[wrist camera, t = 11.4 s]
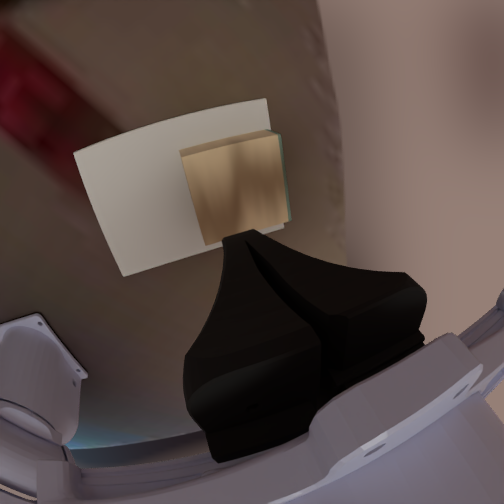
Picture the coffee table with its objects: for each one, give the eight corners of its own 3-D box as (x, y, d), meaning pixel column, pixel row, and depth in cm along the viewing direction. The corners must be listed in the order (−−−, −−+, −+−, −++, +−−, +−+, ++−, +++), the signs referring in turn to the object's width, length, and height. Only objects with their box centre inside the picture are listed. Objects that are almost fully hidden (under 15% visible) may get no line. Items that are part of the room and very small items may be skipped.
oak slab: (200, 229, 21) (278, 207, 22) (205, 246, 19) (291, 220, 20) (178, 150, 18) (267, 129, 18) (181, 157, 16) (280, 134, 16)
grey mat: (281, 224, 23) (284, 227, 23) (123, 272, 21) (123, 276, 21) (263, 98, 18) (266, 98, 17) (75, 151, 16) (73, 153, 15)
